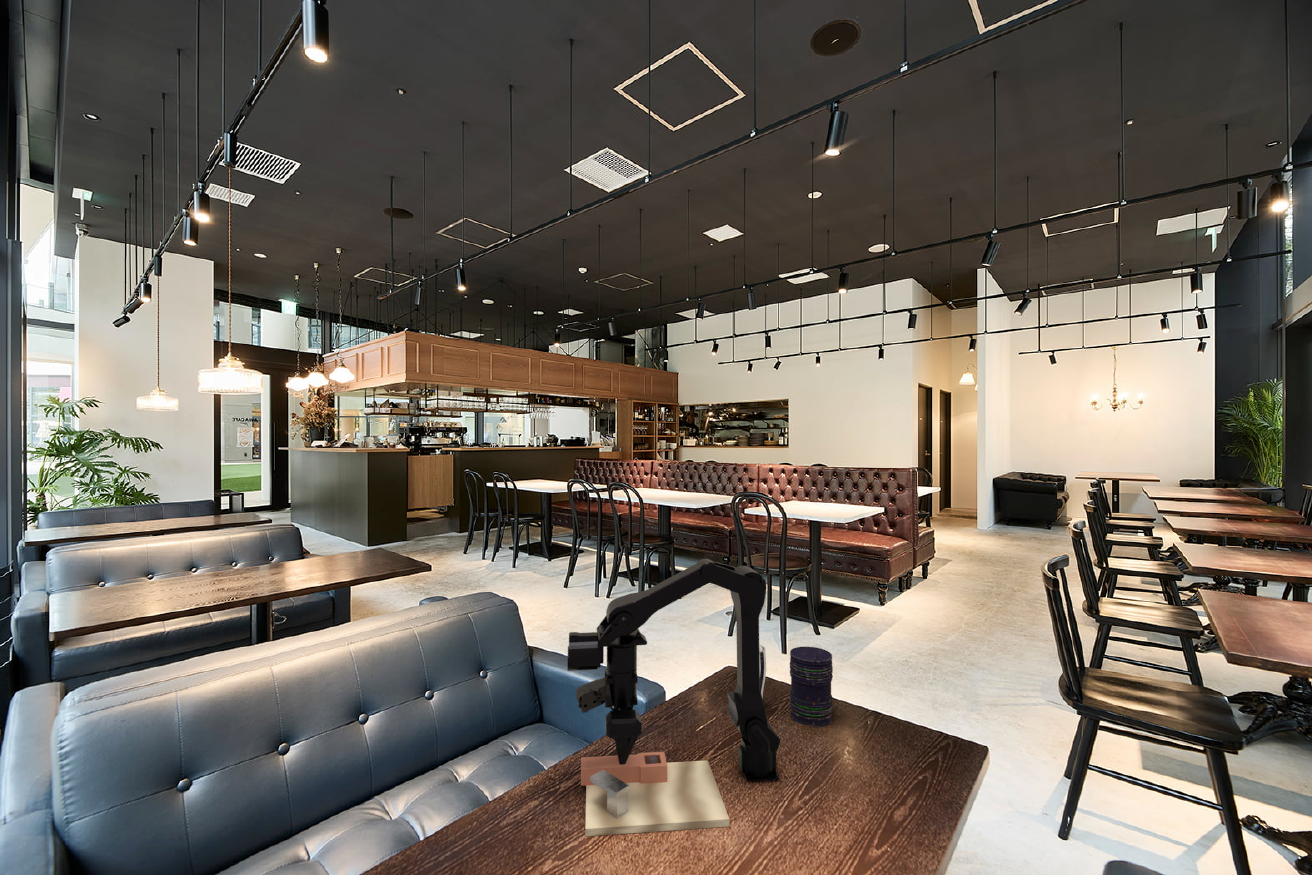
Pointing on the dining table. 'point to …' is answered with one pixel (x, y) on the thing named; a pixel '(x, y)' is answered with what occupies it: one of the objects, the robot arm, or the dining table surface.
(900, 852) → the dining table surface
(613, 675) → the robot arm
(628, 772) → the link
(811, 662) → the storage jar
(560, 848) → the dining table surface
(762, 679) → the beer glass
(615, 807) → the block
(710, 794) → the board
